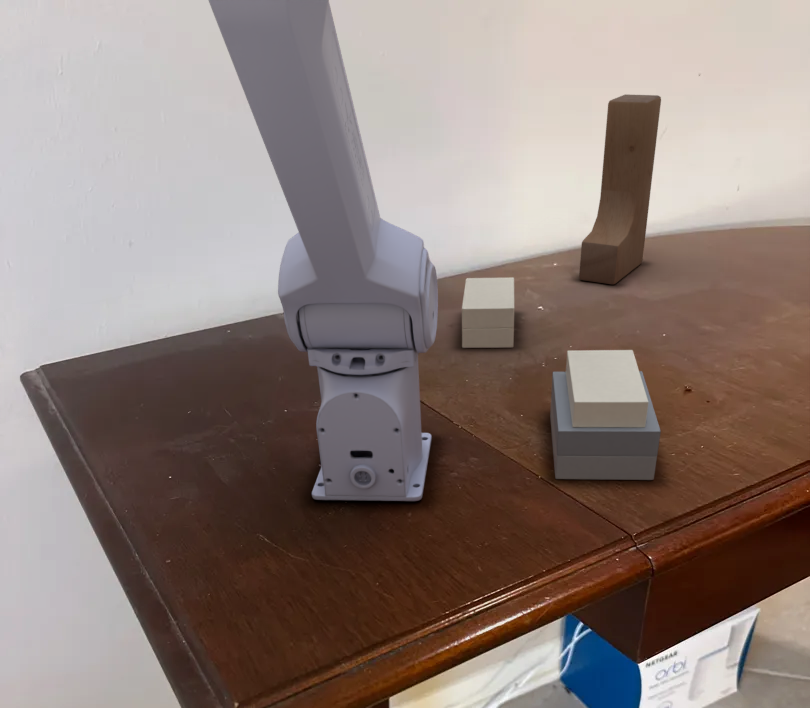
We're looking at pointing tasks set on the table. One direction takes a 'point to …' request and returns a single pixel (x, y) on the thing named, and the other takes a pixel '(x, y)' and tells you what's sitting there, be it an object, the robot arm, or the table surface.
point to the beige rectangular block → (605, 389)
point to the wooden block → (623, 190)
